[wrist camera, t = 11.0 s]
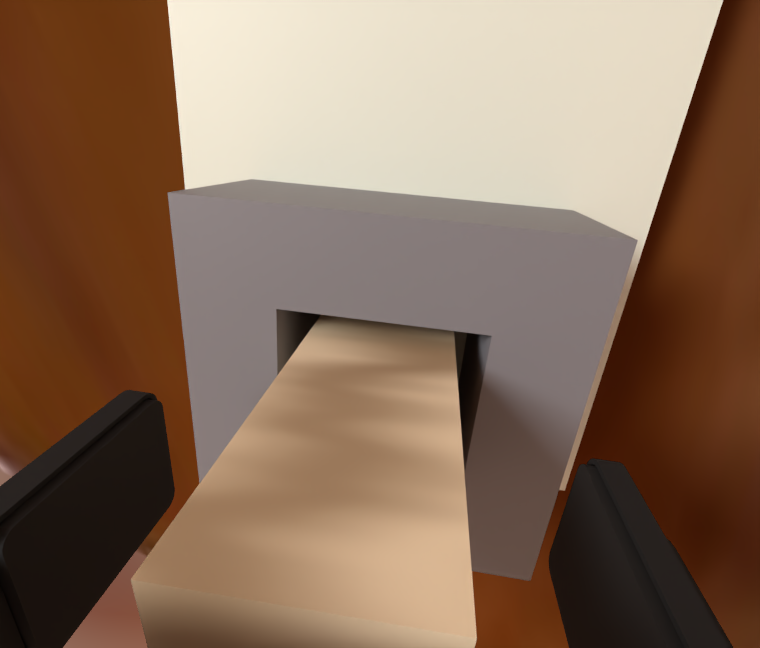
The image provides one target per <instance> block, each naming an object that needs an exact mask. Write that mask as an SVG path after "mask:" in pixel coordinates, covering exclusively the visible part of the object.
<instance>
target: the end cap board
mask: <svg viewBox="0 0 760 648" xmlns="http://www.w3.org/2000/svg"><path fill="white" fill-rule="evenodd" d="M167 1H168V11H169V22H170V32H171V43H172V54H173V64H174V75H175V85H176V96H177V107H178V117H179V128H180V138H181V149H182V160H183V170H184V181H185V190H180V191H174V192H168V200H169V209H170V219H171V228H172V237H173V246H174V255H175V264H176V273H177V282H178V291H179V300H180V309H181V318H182V328H183V337H184V346H185V355H186V364H187V373H188V382H189V391H190V400H191V409H192V418H193V427H194V437H195V446H196V455H197V464H198V473H199V482H200V483H201V481H202V480H203V478H204V477H205V476H206V474H207V473H208V471H209V470H210V469H211V467H212V466H213V464H214V463H215V462H216V460H217V459H218V458H219V456H220V455H221V453H222V452H223V451H224V449H225V448H226V446H227V445H228V444H229V442H230V441H231V439H232V438H233V437H234V435H235V434H236V432H237V431H238V430H239V428H240V427H241V426H242V424H243V423H244V421H245V420H246V419H247V417H248V416H249V414H250V413H251V412H252V410H253V409H254V407H255V406H256V405H257V403H258V402H259V400H260V399H261V398H262V396H263V395H264V394H265V392H266V391H267V389H268V388H269V387H270V385H271V384H272V382H273V381H274V380H275V378H276V377H277V375H278V374H279V373H280V371H281V370H282V368H283V367H284V366H285V364H286V363H287V362H288V360H289V359H290V357H291V356H292V355H293V353H294V352H295V350H296V349H297V348H298V346H299V345H300V343H301V342H302V341H303V339H304V338H305V336H306V335H307V334H308V332H309V331H310V330H311V328H312V327H313V325H314V324H315V323H316V321H317V320H318V318H319V317H320V316H321V315H329V316H337V317H345V318H353V319H361V320H369V321H377V322H385V323H393V324H401V325H409V326H417V327H425V328H433V329H442V330H450V331H454V338H455V352H456V365H457V379H458V392H459V406H460V419H461V433H462V446H463V460H464V473H465V487H466V501H467V514H468V528H469V541H470V555H471V568H472V571H476V572H482V573H487V574H493V575H499V576H505V577H510V578H516V579H522V580H528V581H530V580H531V577H532V574H533V571H534V567H535V564H536V561H537V558H538V555H539V552H540V548H541V545H542V542H543V539H544V536H545V533H546V530H547V526H548V523H549V520H550V517H551V514H552V511H553V507H554V504H555V501H556V498H557V495H558V492H559V490H564V491H565V488H566V485H567V482H568V479H569V476H570V473H571V470H572V467H573V464H574V461H575V457H576V454H577V451H578V448H579V445H580V442H581V439H582V436H583V433H584V430H585V426H586V423H587V420H588V417H589V414H590V411H591V408H592V405H593V402H594V399H595V396H596V392H597V389H598V386H599V383H600V380H601V377H602V374H603V371H604V368H605V365H606V362H607V358H608V355H609V352H610V349H611V346H612V343H613V340H614V337H615V334H616V331H617V327H618V324H619V321H620V318H621V315H622V312H623V309H624V306H625V303H626V300H627V297H628V293H629V290H630V287H631V284H632V281H633V278H634V275H635V272H636V269H637V266H638V262H639V259H640V256H641V253H642V250H643V247H644V244H645V241H646V238H647V235H648V232H649V228H650V225H651V222H652V219H653V216H654V213H655V210H656V207H657V204H658V201H659V198H660V194H661V191H662V188H663V185H664V182H665V179H666V176H667V173H668V170H669V167H670V163H671V160H672V157H673V154H674V151H675V148H676V145H677V142H678V139H679V136H680V133H681V129H682V126H683V123H684V120H685V117H686V114H687V111H688V108H689V105H690V102H691V99H692V95H693V92H694V89H695V86H696V83H697V80H698V77H699V74H700V71H701V68H702V64H703V61H704V58H705V55H706V52H707V49H708V46H709V43H710V40H711V37H712V34H713V30H714V27H715V24H716V21H717V18H718V15H719V12H720V9H721V6H722V3H723V0H167Z"/></svg>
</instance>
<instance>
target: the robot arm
mask: <svg viewBox="0 0 760 648" xmlns="http://www.w3.org/2000/svg"><path fill="white" fill-rule="evenodd" d="M174 492H175V488H174V482H173V475H172V468H171V461H170V454H169V447H168V440H167V433H166V426H165V419H164V412H163V406H162V403H161V402H160V401H157V398H156V396H155V395H154V394H151V393H145V392H139V391H132V390H127V391H124V392H122V393H121V394H119V395H118V396H117V397H116V398H114V399H113V400H112V401H110V402H109V403H108V404H106V405H105V406H104V407H103V408H101V409H100V410H99V411H97V412H96V413H95V414H93V415H92V416H91V417H90V418H88V419H87V420H86V421H84V422H83V423H82V424H81V425H79V426H78V427H77V428H75V429H74V430H73V431H71V432H70V433H69V434H68V435H66V436H65V437H64V438H62V439H61V440H60V441H58V442H57V443H56V444H55V445H53V446H52V447H51V448H49V449H48V450H47V451H45V452H44V453H43V454H42V455H40V456H39V457H38V458H36V459H35V460H34V461H32V462H31V463H30V464H29V465H27V466H26V467H25V468H23V469H22V470H21V471H19V472H18V473H17V474H16V475H14V476H13V477H12V478H10V479H9V480H8V481H7V482H5V483H4V484H3V485H1V486H0V648H63V646H64V645H65V644H66V642H67V641H68V640H69V639H70V637H71V636H72V635H73V633H74V632H75V630H76V629H77V628H78V627H79V625H80V624H81V623H82V621H83V620H84V619H85V617H86V616H87V615H88V613H89V612H90V611H91V610H92V608H93V607H94V605H95V604H96V603H97V602H98V600H99V599H100V597H101V596H102V595H103V594H104V592H105V591H106V590H107V588H108V587H109V586H110V584H111V583H112V582H113V580H114V579H115V578H116V576H117V575H118V574H119V572H120V571H121V570H122V568H123V567H124V566H125V565H126V563H127V562H128V560H129V559H130V558H131V557H132V555H133V554H134V553H135V551H136V550H137V549H138V547H139V546H140V545H141V543H142V542H143V541H144V539H145V538H146V537H147V535H148V534H149V533H150V531H151V530H152V529H153V527H154V526H155V525H156V524H157V522H158V521H159V520H160V518H161V517H162V516H163V514H164V513H165V512H166V510H167V509H168V508H169V506H170V505H171V503H172V500H173V497H174ZM549 569H550V574H551V578H552V582H553V586H554V590H555V594H556V598H557V602H558V606H559V609H560V613H561V617H562V621H563V625H564V629H565V633H566V637H567V641H568V645H569V648H733V646H732V645H731V643H730V641H729V639H728V638H727V636H726V634H725V633H724V631H723V629H722V627H721V626H720V624H719V622H718V621H717V619H716V617H715V615H714V614H713V612H712V610H711V609H710V607H709V605H708V603H707V602H706V600H705V598H704V597H703V595H702V593H701V591H700V590H699V588H698V586H697V585H696V583H695V581H694V579H693V578H692V576H691V574H690V572H689V571H688V569H687V567H686V566H685V564H684V562H683V560H682V559H681V557H680V555H679V554H678V552H677V550H676V549H675V547H674V546H673V545H672V543H671V542H670V541H669V540H668V539H666V537H665V536H664V534H663V532H662V530H661V529H660V527H659V525H658V523H657V522H656V520H655V518H654V516H653V515H652V513H651V511H650V509H649V508H648V506H647V504H646V502H645V501H644V499H643V497H642V495H641V494H640V492H639V490H638V488H637V487H636V485H635V483H634V481H633V480H632V478H631V476H630V475H629V473H628V471H627V469H626V468H625V466H624V465H623V464H622V463H620V462H614V461H607V460H600V459H590V460H589V461H588V463H587V465H586V464H581V465H580V466H579V468H578V470H577V473H576V476H575V479H574V482H573V485H572V488H571V491H570V494H569V497H568V500H567V503H566V506H565V509H564V512H563V515H562V518H561V521H560V524H559V527H558V530H557V533H556V536H555V539H554V542H553V545H552V548H551V551H550V555H549Z"/></svg>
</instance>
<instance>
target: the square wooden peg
mask: <svg viewBox="0 0 760 648" xmlns="http://www.w3.org/2000/svg"><path fill="white" fill-rule="evenodd" d="M131 583H132V587H133V591H134V594H135V599H136V603H137V606H138V610H139V615H140V618H141V623H142V627H143V630H144V634H145V638H146V643H147V647H148V648H475V644H476V639H477V636H476V622H475V609H474V595H473V582H472V568H471V555H470V541H469V528H468V514H467V501H466V487H465V473H464V460H463V446H462V433H461V419H460V406H459V392H458V379H457V365H456V352H455V338H454V331H450V330H442V329H433V328H425V327H417V326H409V325H401V324H393V323H385V322H377V321H369V320H361V319H353V318H345V317H337V316H329V315H321V316H320V317H319V318H318V320H317V321H316V323H315V324H314V325H313V327H312V328H311V330H310V331H309V332H308V334H307V335H306V336H305V338H304V339H303V341H302V342H301V343H300V345H299V346H298V348H297V349H296V350H295V352H294V353H293V355H292V356H291V357H290V359H289V360H288V362H287V363H286V364H285V366H284V367H283V368H282V370H281V371H280V373H279V374H278V375H277V377H276V378H275V380H274V381H273V382H272V384H271V385H270V387H269V388H268V389H267V391H266V392H265V394H264V395H263V396H262V398H261V399H260V400H259V402H258V403H257V405H256V406H255V407H254V409H253V410H252V412H251V413H250V414H249V416H248V417H247V419H246V420H245V421H244V423H243V424H242V426H241V427H240V428H239V430H238V431H237V432H236V434H235V435H234V437H233V438H232V439H231V441H230V442H229V444H228V445H227V446H226V448H225V449H224V451H223V452H222V453H221V455H220V456H219V458H218V459H217V460H216V462H215V463H214V464H213V466H212V467H211V469H210V470H209V471H208V473H207V474H206V476H205V477H204V478H203V480H202V481H201V483H200V484H199V485H198V487H197V488H196V490H195V491H194V492H193V494H192V495H191V496H190V498H189V499H188V501H187V502H186V503H185V505H184V506H183V508H182V509H181V510H180V512H179V513H178V515H177V516H176V517H175V519H174V520H173V522H172V523H171V524H170V526H169V527H168V528H167V530H166V531H165V533H164V534H163V535H162V537H161V538H160V540H159V541H158V542H157V544H156V545H155V547H154V548H153V549H152V551H151V552H150V554H149V555H148V556H147V558H146V559H145V561H144V562H143V563H142V565H141V566H140V567H139V569H138V570H137V572H136V573H135V574H134V576H133V577H132V579H131Z"/></svg>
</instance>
